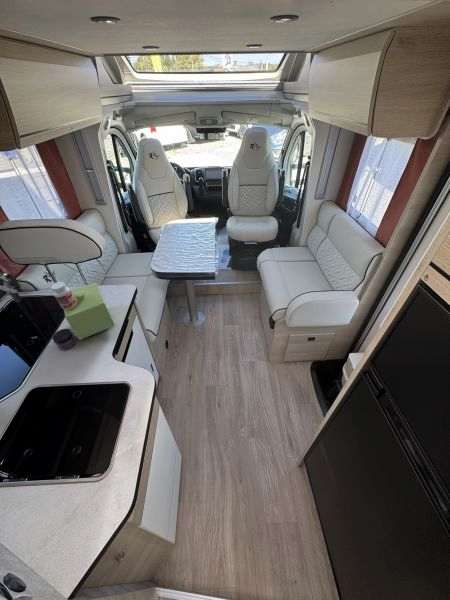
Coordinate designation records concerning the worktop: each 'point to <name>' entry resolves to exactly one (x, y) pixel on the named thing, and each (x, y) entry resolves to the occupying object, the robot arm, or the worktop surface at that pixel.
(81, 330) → the container
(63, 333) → the jar lid
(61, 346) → the jar
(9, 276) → the robot arm
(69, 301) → the pill bottle
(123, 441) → the worktop surface
